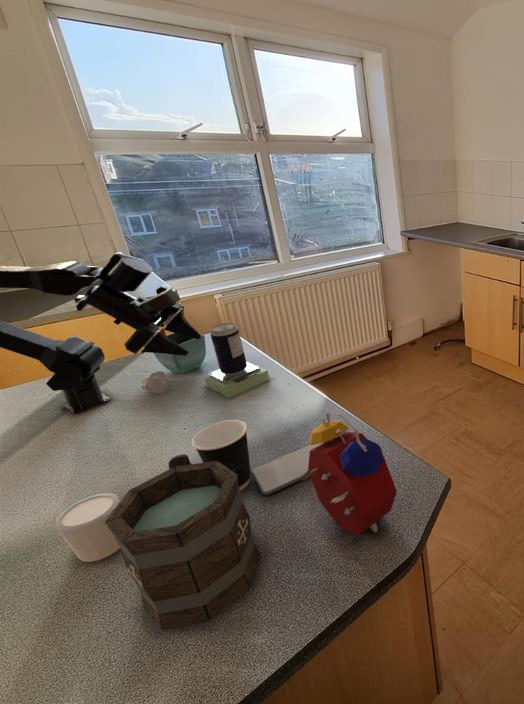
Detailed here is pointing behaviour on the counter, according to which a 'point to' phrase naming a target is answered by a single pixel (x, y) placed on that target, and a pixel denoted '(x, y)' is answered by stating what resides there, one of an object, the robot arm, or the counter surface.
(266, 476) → the smartphone
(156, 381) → the pale two-lobed sculpture
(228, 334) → the beverage can
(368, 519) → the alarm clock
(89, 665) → the counter surface
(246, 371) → the pan
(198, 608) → the mug
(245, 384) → the scale
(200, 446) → the dixie cup
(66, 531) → the white tapered cup
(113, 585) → the counter surface
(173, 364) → the flower pot
